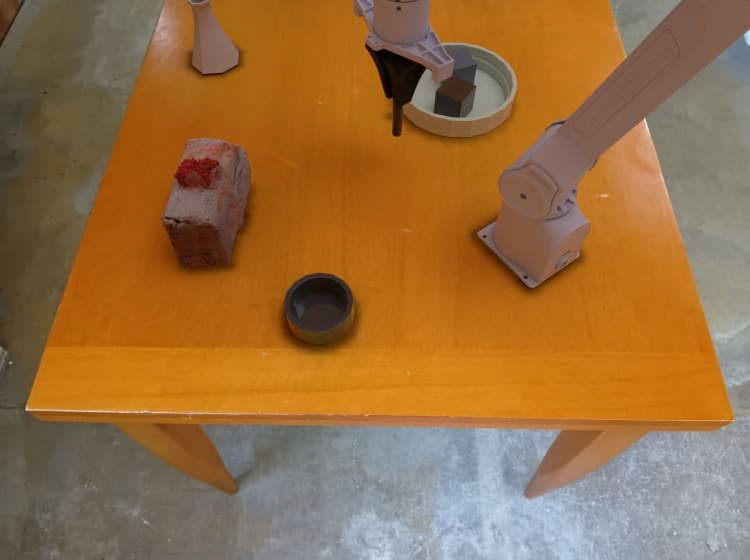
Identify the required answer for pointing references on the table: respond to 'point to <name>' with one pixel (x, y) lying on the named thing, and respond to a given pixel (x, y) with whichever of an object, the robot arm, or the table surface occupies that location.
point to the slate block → (463, 65)
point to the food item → (207, 201)
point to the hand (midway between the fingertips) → (398, 98)
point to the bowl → (489, 100)
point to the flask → (210, 41)
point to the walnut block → (454, 98)
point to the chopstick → (397, 121)
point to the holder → (319, 308)
